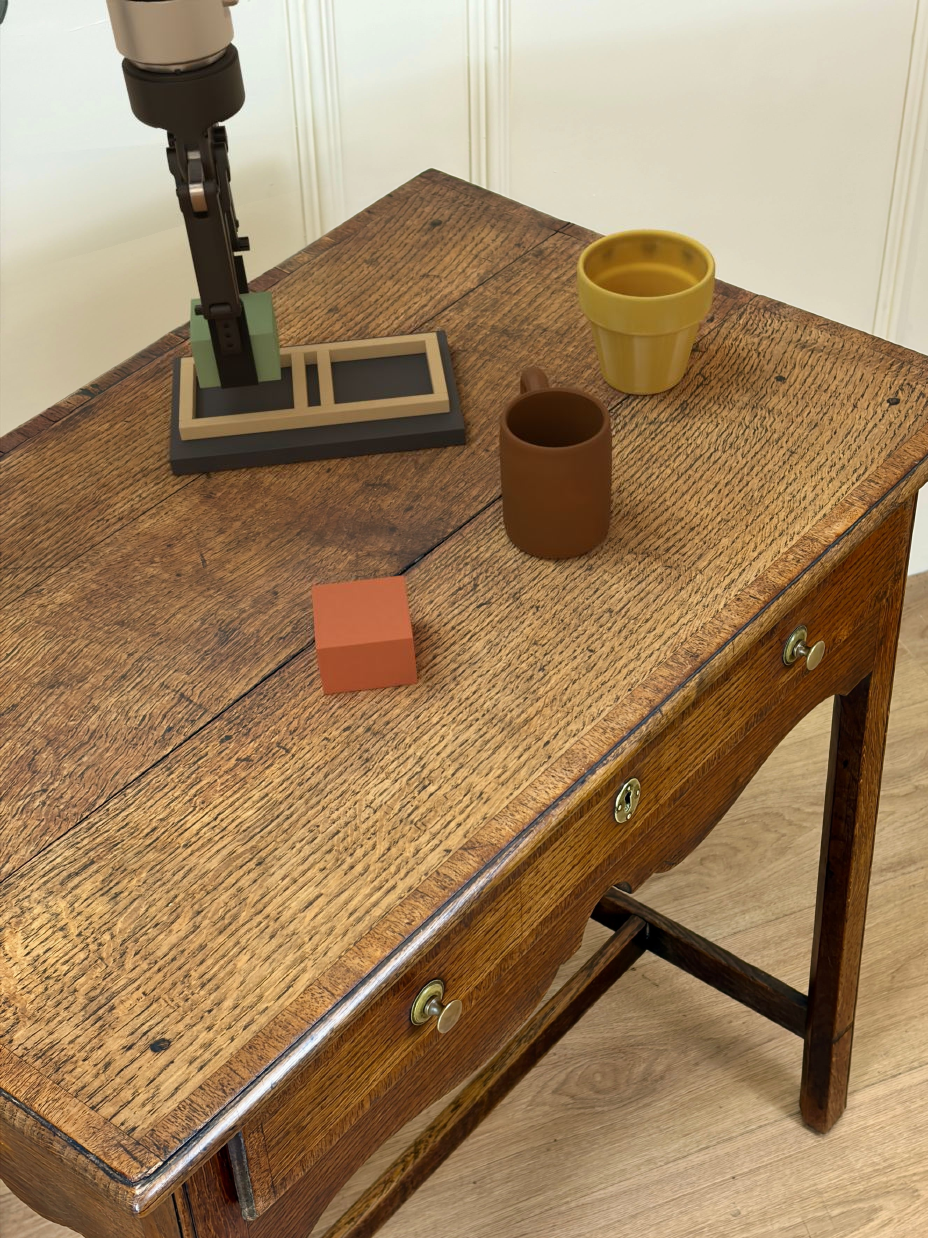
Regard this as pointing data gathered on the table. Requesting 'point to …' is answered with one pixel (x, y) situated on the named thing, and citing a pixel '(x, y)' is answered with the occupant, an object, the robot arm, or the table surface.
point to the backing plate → (320, 406)
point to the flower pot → (645, 305)
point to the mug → (555, 468)
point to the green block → (260, 334)
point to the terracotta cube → (363, 635)
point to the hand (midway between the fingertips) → (239, 359)
